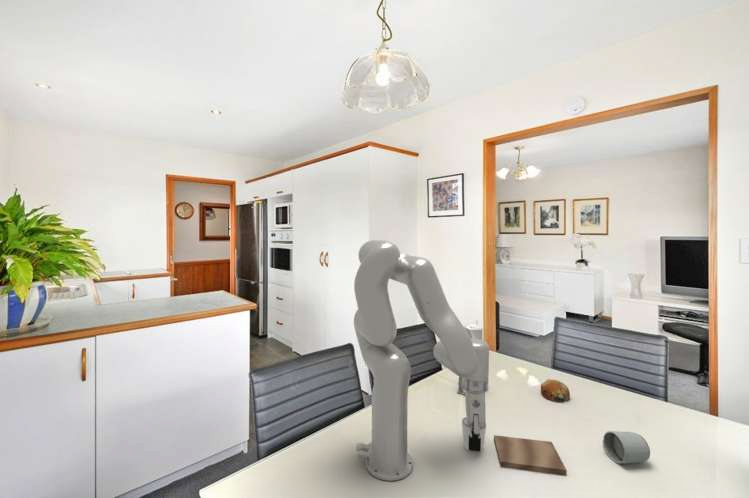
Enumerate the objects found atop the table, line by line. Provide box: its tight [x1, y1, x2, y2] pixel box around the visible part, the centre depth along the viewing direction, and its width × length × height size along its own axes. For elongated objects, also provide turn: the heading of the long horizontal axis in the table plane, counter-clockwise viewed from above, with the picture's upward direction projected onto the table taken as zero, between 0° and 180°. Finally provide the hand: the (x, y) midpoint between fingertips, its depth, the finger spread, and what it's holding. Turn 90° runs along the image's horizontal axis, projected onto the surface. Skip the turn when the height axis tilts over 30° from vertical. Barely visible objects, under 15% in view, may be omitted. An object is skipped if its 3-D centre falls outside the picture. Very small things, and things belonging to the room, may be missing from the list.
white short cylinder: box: [461, 416, 487, 453], centre depth 98 cm, size 7×7×7 cm
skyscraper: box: [456, 319, 484, 396], centre depth 131 cm, size 8×8×28 cm
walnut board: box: [493, 434, 568, 477], centre depth 93 cm, size 16×12×2 cm
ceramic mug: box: [602, 430, 651, 465], centre depth 94 cm, size 11×8×8 cm
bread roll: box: [540, 378, 571, 403], centre depth 129 cm, size 10×10×8 cm
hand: (473, 443), depth 98 cm, fingers closed on white short cylinder, 5 cm apart
